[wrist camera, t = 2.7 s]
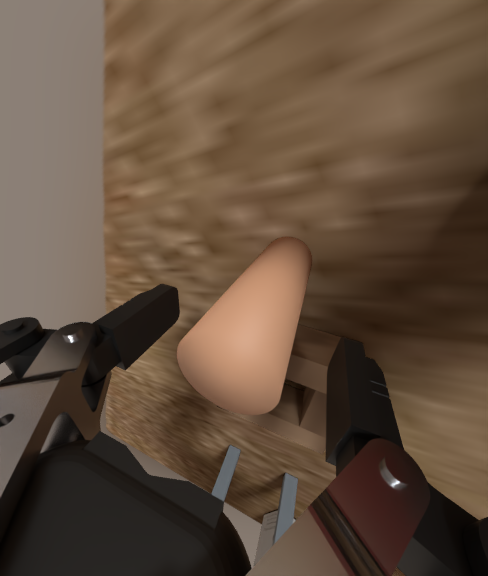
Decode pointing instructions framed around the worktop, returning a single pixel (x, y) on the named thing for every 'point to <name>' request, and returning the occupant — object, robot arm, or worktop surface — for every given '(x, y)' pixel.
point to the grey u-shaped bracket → (286, 496)
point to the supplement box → (266, 535)
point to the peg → (250, 332)
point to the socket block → (302, 392)
